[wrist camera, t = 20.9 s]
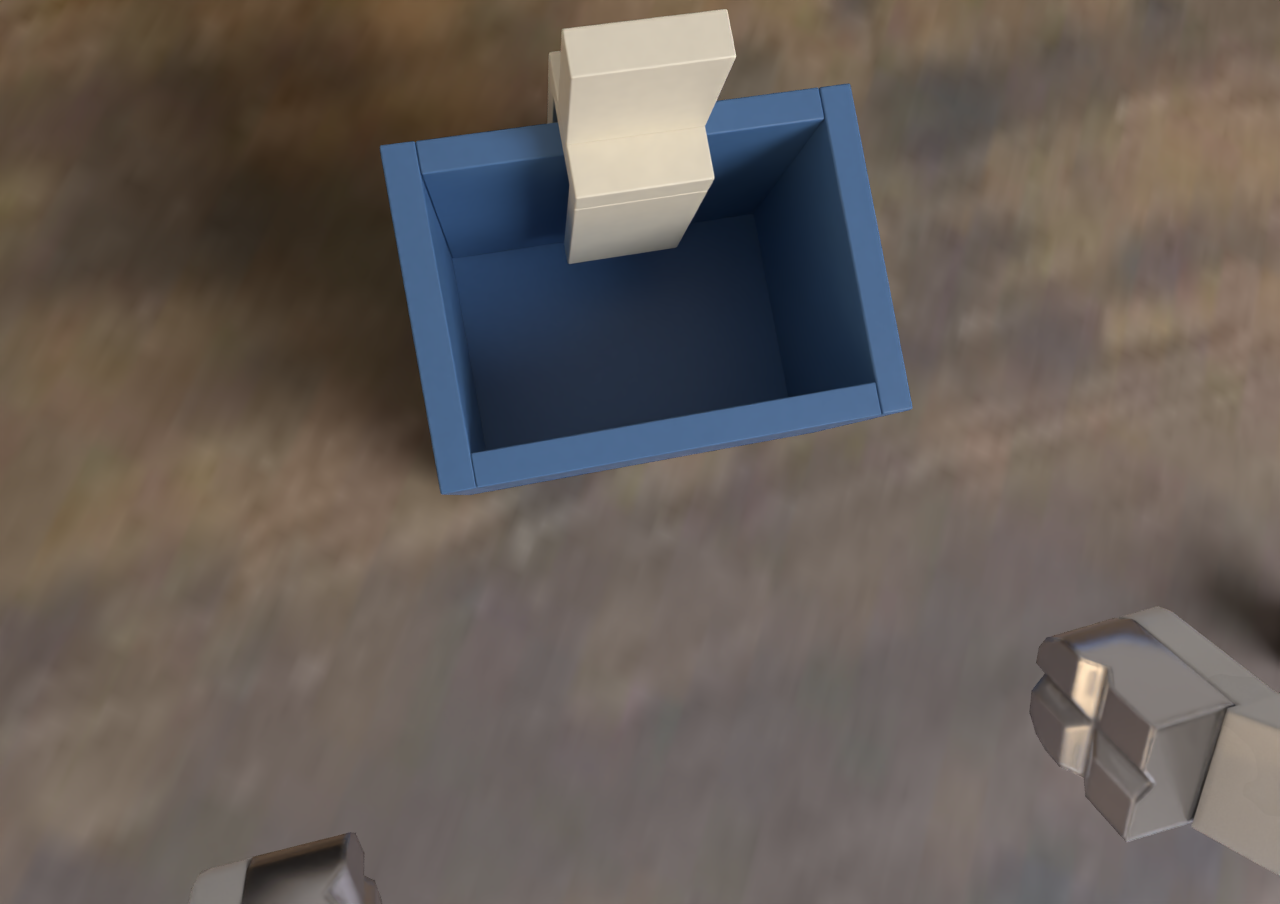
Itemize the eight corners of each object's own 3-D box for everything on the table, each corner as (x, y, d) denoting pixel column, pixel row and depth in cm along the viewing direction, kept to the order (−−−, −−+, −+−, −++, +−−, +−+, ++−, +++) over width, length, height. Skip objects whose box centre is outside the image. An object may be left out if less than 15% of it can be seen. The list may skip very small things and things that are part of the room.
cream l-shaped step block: (567, 264, 31) (582, 140, 20) (546, 149, 31) (549, -35, 21) (677, 247, 32) (748, 118, 21) (656, 134, 32) (716, -54, 21)
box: (468, 495, 34) (440, 494, 25) (423, 242, 34) (378, 145, 25) (814, 432, 36) (913, 409, 26) (768, 191, 36) (850, 81, 27)
